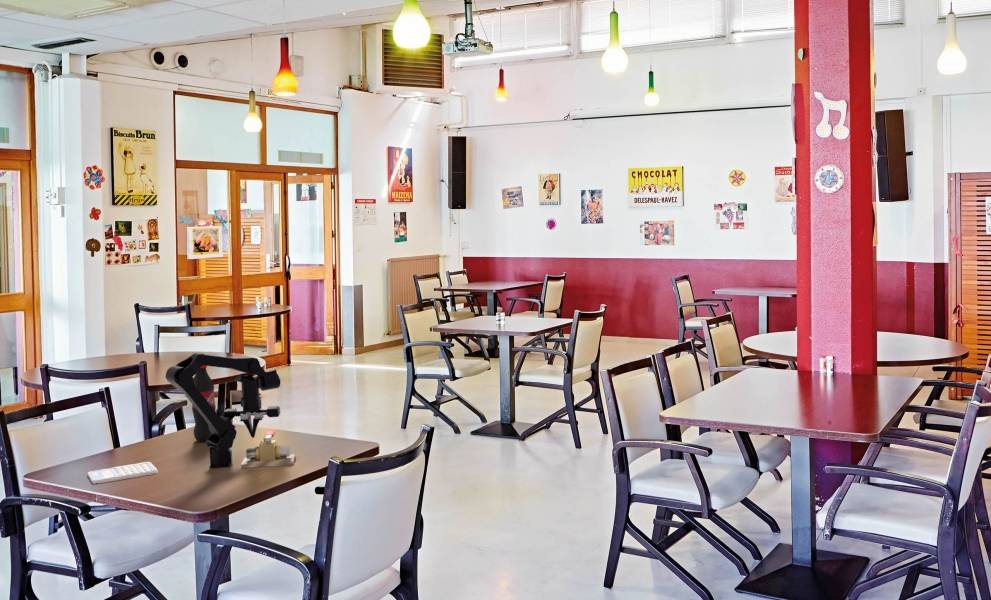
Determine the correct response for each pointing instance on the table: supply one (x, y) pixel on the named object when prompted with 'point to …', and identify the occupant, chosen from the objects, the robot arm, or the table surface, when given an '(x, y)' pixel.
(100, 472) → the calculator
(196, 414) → the cola bottle
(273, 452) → the brass valve
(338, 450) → the table surface
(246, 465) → the mounting board
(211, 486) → the table surface
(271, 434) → the valve lever
